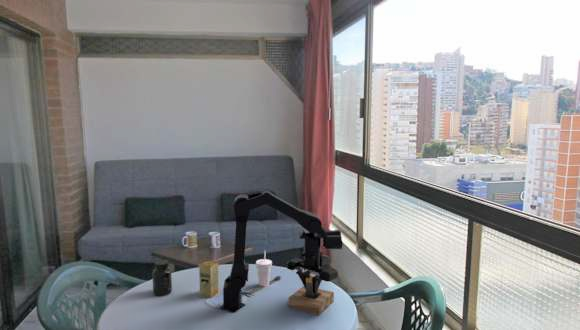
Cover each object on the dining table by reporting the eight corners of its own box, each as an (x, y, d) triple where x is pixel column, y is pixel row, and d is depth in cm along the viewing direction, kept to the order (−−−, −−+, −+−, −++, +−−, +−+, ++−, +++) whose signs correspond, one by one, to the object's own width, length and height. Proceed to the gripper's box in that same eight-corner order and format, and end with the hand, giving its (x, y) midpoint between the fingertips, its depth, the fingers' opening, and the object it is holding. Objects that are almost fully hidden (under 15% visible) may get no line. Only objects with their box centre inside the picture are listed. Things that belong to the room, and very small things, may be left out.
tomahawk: (253, 302, 151) (253, 299, 151) (241, 295, 155) (241, 292, 155) (289, 283, 167) (290, 280, 167) (277, 277, 171) (277, 275, 171)
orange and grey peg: (317, 299, 147) (318, 277, 146) (312, 303, 145) (312, 279, 144) (310, 297, 149) (310, 274, 148) (305, 300, 147) (305, 277, 146)
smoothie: (275, 284, 164) (275, 250, 162) (265, 290, 159) (265, 254, 157) (262, 280, 168) (262, 247, 166) (252, 286, 162) (252, 251, 161)
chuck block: (319, 315, 139) (319, 305, 139) (288, 306, 145) (288, 297, 145) (333, 301, 149) (333, 292, 149) (304, 294, 155) (304, 285, 155)
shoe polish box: (207, 290, 158) (207, 260, 157) (218, 292, 156) (217, 262, 155) (199, 295, 154) (199, 264, 152) (210, 297, 152) (210, 266, 150)
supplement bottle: (149, 294, 154) (148, 264, 153) (161, 287, 160) (160, 258, 159) (164, 298, 152) (163, 266, 150) (175, 290, 158) (174, 260, 156)
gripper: (347, 249, 145) (346, 292, 147) (305, 239, 157) (304, 278, 159) (329, 258, 136) (328, 303, 138) (286, 246, 148) (286, 287, 150)
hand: (311, 292), depth 147 cm, fingers closed on orange and grey peg, 3 cm apart
